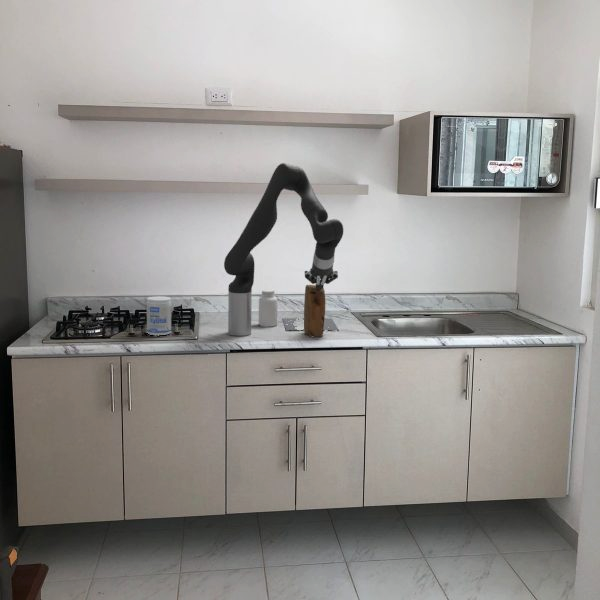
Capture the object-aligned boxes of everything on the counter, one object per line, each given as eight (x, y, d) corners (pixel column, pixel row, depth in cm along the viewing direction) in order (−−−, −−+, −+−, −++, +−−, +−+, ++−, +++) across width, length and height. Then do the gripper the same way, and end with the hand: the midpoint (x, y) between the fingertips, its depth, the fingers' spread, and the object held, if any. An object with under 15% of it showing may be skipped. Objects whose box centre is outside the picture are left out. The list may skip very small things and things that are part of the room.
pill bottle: (259, 327, 312) (259, 292, 310) (257, 323, 320) (257, 288, 317) (278, 327, 314) (278, 291, 311) (275, 322, 321) (276, 288, 319)
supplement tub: (149, 337, 290) (148, 300, 288) (144, 332, 299) (143, 296, 296) (174, 336, 294) (173, 299, 291) (168, 331, 303) (167, 295, 300)
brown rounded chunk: (302, 331, 305) (303, 283, 302) (320, 331, 307) (321, 283, 303) (307, 337, 295) (308, 288, 291) (326, 337, 296) (327, 287, 293)
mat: (286, 331, 306) (286, 330, 306) (282, 318, 330) (282, 318, 330) (339, 330, 308) (339, 330, 308) (331, 319, 332) (331, 318, 332)
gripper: (340, 252, 272) (335, 280, 286) (304, 252, 270) (301, 280, 285) (342, 268, 267) (337, 296, 282) (305, 268, 266) (302, 296, 281)
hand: (319, 288), depth 283 cm, fingers closed
